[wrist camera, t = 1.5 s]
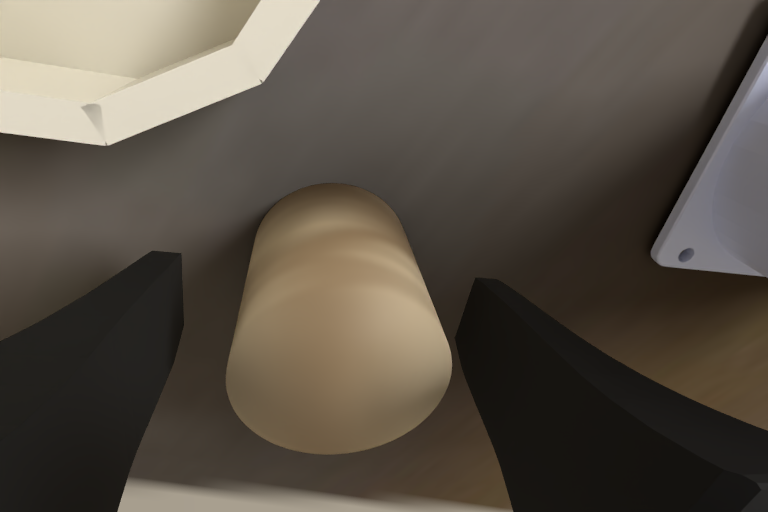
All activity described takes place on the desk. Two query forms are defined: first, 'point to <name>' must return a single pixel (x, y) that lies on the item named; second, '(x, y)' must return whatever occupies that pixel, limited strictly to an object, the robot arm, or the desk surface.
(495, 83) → the desk surface
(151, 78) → the bowl
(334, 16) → the desk surface
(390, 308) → the tan wooden cylinder
